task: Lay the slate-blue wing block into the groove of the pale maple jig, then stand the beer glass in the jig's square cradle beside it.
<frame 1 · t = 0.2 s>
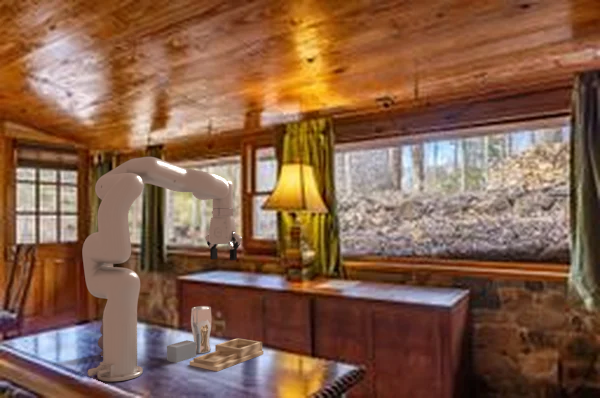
hand: (223, 259, 187), 31 cm above the table, tool pointing down, fingers open, 9 cm apart
cat figurine: (110, 356, 171), on the table
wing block: (181, 359, 166), on the table
beer glass: (201, 351, 175), on the table
jig: (227, 359, 164), on the table
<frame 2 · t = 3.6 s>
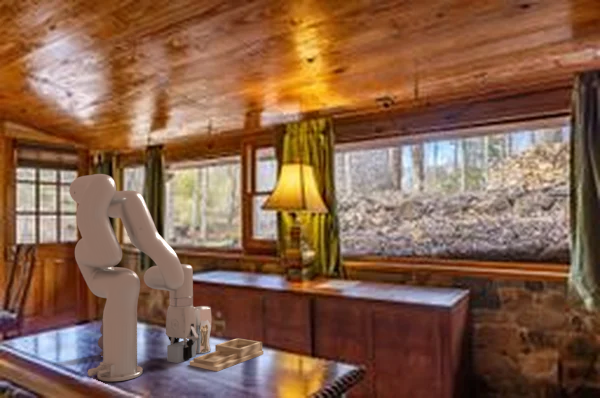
hand: (181, 357, 166), 0 cm above the table, tool pointing down, fingers closed on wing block, 4 cm apart
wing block: (181, 358, 166), on the table, touching gripper
everything else where it was.
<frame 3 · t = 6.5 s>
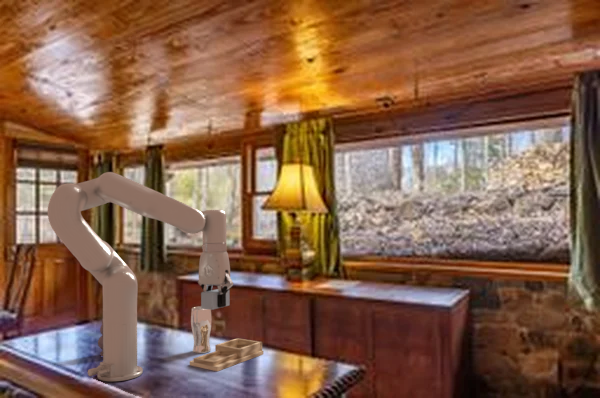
hand: (215, 305, 160), 18 cm above the table, tool pointing down, fingers closed on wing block, 4 cm apart
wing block: (215, 306, 160), point 18 cm above the table, touching gripper
everything else where it was.
when the fingers open (3 cm above the table, at t = 9.5 s): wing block drops 1 cm, resting on jig.
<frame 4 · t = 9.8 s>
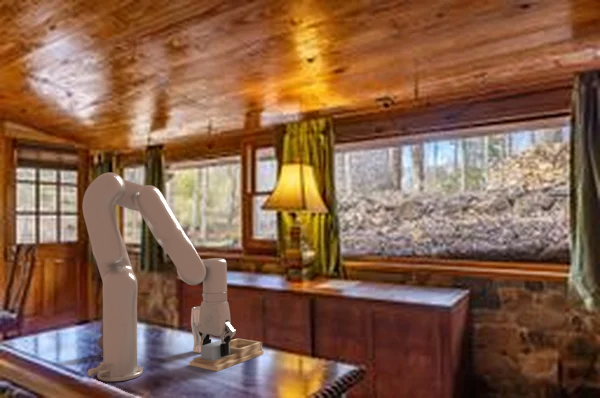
hand: (215, 353, 159), 3 cm above the table, tool pointing down, fingers open, 7 cm apart
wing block: (215, 359, 159), point 1 cm above the table, touching jig
everything else where it was.
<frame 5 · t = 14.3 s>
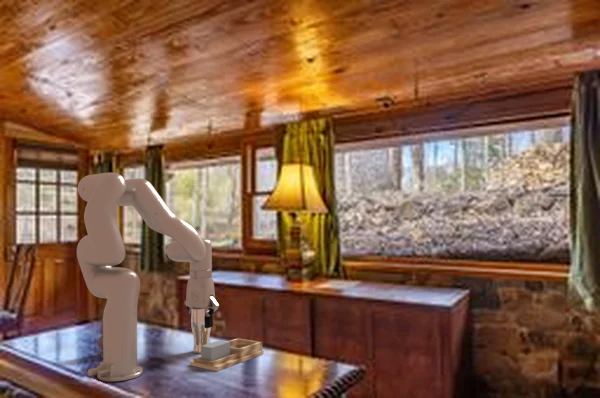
hand: (201, 325, 175), 9 cm above the table, tool pointing down, fingers closed on beer glass, 6 cm apart
beer glass: (201, 351, 175), on the table, touching gripper
everything else where it was.
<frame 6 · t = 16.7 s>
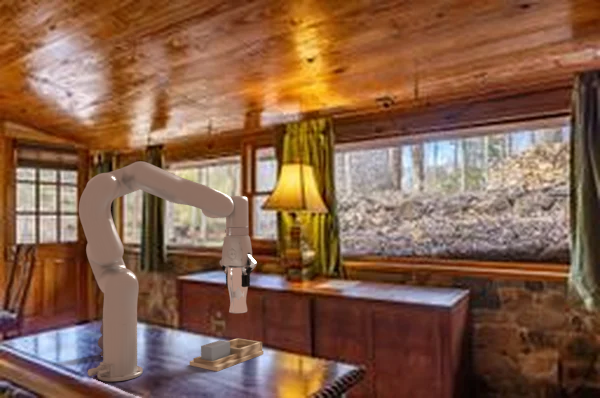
hand: (237, 285, 169), 23 cm above the table, tool pointing down, fingers closed on beer glass, 6 cm apart
beer glass: (238, 312, 169), point 14 cm above the table, touching gripper
everything else where it was.
when the fingers open (11 cm above the table, at t = 19.3 s): beer glass drops 2 cm, resting on jig.
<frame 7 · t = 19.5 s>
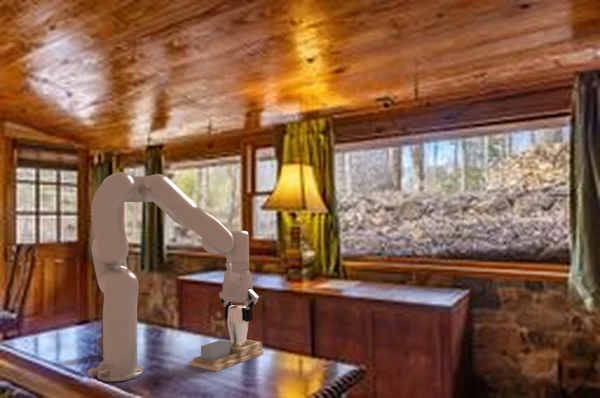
hand: (238, 319, 169), 12 cm above the table, tool pointing down, fingers open, 8 cm apart
beer glass: (238, 352, 168), point 1 cm above the table, touching jig
everything else where it was.
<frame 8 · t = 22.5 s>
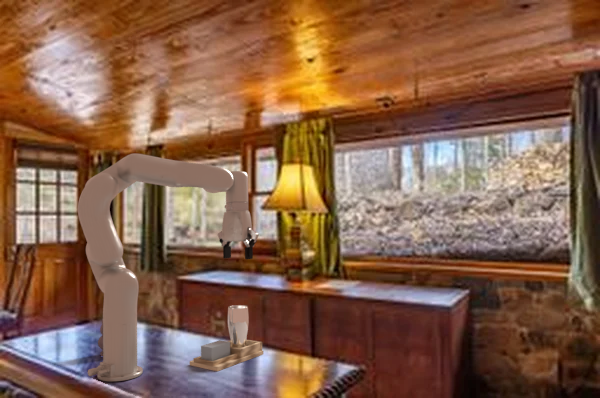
hand: (237, 258, 169), 32 cm above the table, tool pointing down, fingers open, 9 cm apart
nothing on the table moved.
at the end: beer glass 0.3 cm from the target spot on the jig, point 1.0 cm above the jig's base; beer glass tilted 0°; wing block 0.2 cm from the target spot on the jig, point 1.2 cm above the jig's base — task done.
